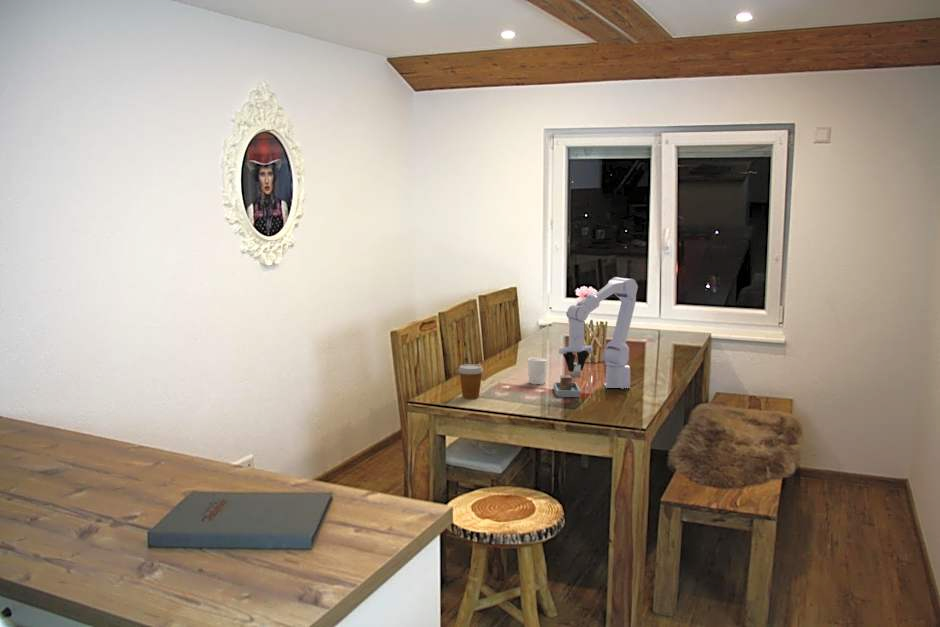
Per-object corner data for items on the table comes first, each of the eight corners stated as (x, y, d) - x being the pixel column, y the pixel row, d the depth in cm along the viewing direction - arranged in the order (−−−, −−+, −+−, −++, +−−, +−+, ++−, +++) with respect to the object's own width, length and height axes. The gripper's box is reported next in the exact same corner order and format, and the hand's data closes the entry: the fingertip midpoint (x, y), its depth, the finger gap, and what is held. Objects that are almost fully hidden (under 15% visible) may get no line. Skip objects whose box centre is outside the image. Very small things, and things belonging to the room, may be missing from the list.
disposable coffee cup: (474, 401, 297) (474, 370, 296) (453, 398, 302) (453, 367, 301) (487, 396, 305) (487, 365, 304) (466, 392, 310) (466, 362, 309)
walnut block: (570, 387, 317) (570, 375, 316) (571, 390, 313) (571, 377, 312) (560, 387, 317) (560, 375, 316) (561, 390, 313) (561, 377, 312)
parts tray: (576, 388, 318) (576, 382, 318) (580, 397, 304) (580, 390, 304) (553, 388, 318) (553, 382, 318) (556, 396, 304) (556, 390, 304)
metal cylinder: (582, 376, 309) (582, 363, 308) (578, 378, 306) (578, 365, 305) (573, 374, 311) (573, 362, 311) (568, 376, 308) (569, 364, 307)
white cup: (545, 385, 323) (546, 361, 321) (526, 384, 324) (526, 360, 323) (547, 381, 330) (548, 357, 329) (528, 380, 332) (529, 356, 330)
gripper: (566, 339, 300) (565, 374, 301) (598, 336, 306) (596, 371, 308) (556, 336, 306) (555, 370, 308) (587, 333, 312) (586, 367, 314)
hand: (575, 370), depth 308 cm, fingers closed on metal cylinder, 4 cm apart
